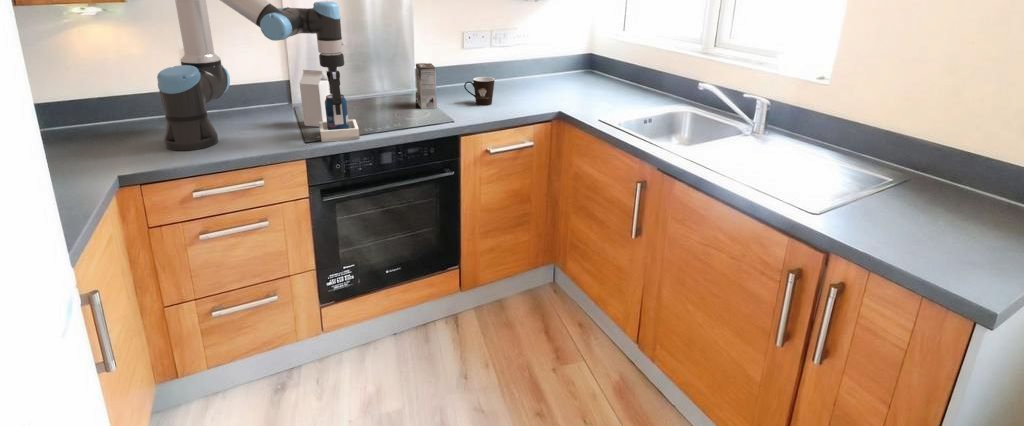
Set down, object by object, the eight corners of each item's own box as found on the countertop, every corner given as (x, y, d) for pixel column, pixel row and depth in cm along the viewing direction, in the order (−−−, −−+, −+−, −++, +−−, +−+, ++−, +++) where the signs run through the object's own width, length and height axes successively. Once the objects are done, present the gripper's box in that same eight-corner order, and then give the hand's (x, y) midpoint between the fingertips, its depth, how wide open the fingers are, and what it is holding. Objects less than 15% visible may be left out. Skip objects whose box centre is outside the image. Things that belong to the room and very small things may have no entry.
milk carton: (323, 127, 210) (317, 72, 202) (304, 126, 212) (297, 71, 204) (332, 122, 217) (327, 68, 209) (314, 120, 218) (308, 67, 210)
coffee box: (417, 103, 243) (415, 63, 237) (433, 102, 245) (431, 62, 239) (420, 109, 235) (419, 67, 229) (437, 108, 237) (435, 66, 231)
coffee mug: (498, 103, 247) (498, 78, 242) (486, 107, 240) (486, 82, 236) (475, 99, 252) (475, 75, 248) (463, 103, 245) (462, 78, 241)
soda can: (324, 133, 200) (320, 98, 195) (332, 128, 206) (328, 93, 201) (345, 134, 199) (341, 98, 194) (352, 128, 206) (348, 94, 201)
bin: (321, 142, 195) (320, 131, 194) (320, 131, 205) (319, 121, 204) (359, 139, 199) (358, 128, 197) (356, 129, 209) (355, 119, 208)
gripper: (346, 59, 181) (352, 128, 190) (340, 46, 203) (346, 108, 212) (320, 60, 179) (328, 129, 188) (317, 47, 201) (324, 110, 209)
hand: (337, 118), depth 200 cm, fingers open, 13 cm apart
